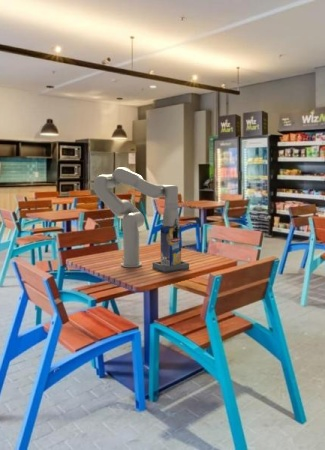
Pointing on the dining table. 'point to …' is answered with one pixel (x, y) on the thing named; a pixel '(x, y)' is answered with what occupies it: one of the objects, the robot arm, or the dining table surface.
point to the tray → (170, 267)
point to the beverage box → (170, 246)
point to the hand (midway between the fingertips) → (170, 236)
